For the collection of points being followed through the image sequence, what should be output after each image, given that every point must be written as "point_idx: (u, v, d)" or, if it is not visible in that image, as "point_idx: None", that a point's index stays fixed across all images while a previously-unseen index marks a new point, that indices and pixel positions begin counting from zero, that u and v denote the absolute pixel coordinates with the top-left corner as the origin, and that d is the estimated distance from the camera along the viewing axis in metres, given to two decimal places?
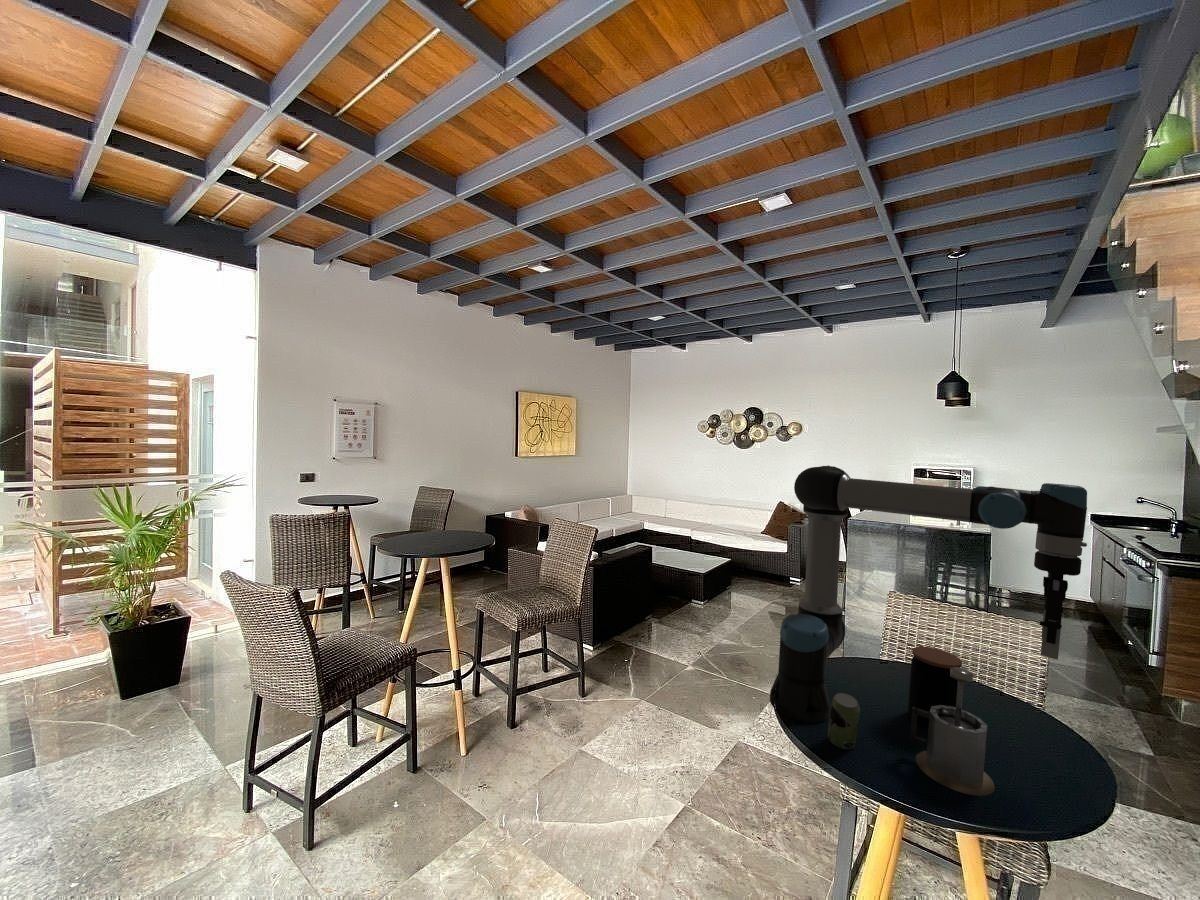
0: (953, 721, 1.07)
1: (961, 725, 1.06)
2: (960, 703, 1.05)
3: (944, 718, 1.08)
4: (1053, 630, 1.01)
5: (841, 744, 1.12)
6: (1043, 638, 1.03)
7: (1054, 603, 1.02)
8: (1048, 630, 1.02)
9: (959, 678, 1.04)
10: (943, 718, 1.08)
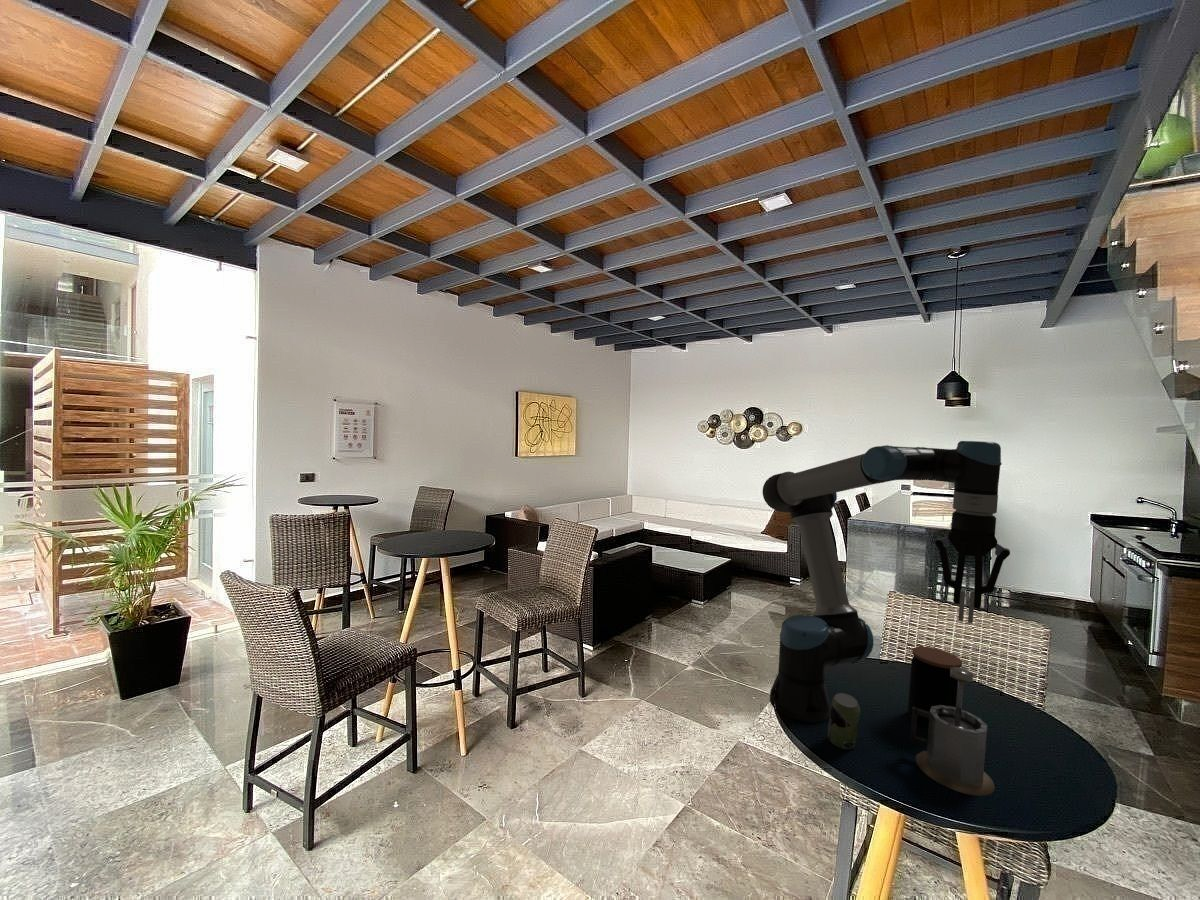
0: (953, 721, 1.07)
1: (961, 725, 1.06)
2: (960, 703, 1.05)
3: (944, 718, 1.08)
4: None
5: (841, 744, 1.12)
6: None
7: None
8: None
9: (959, 678, 1.04)
10: (943, 718, 1.08)
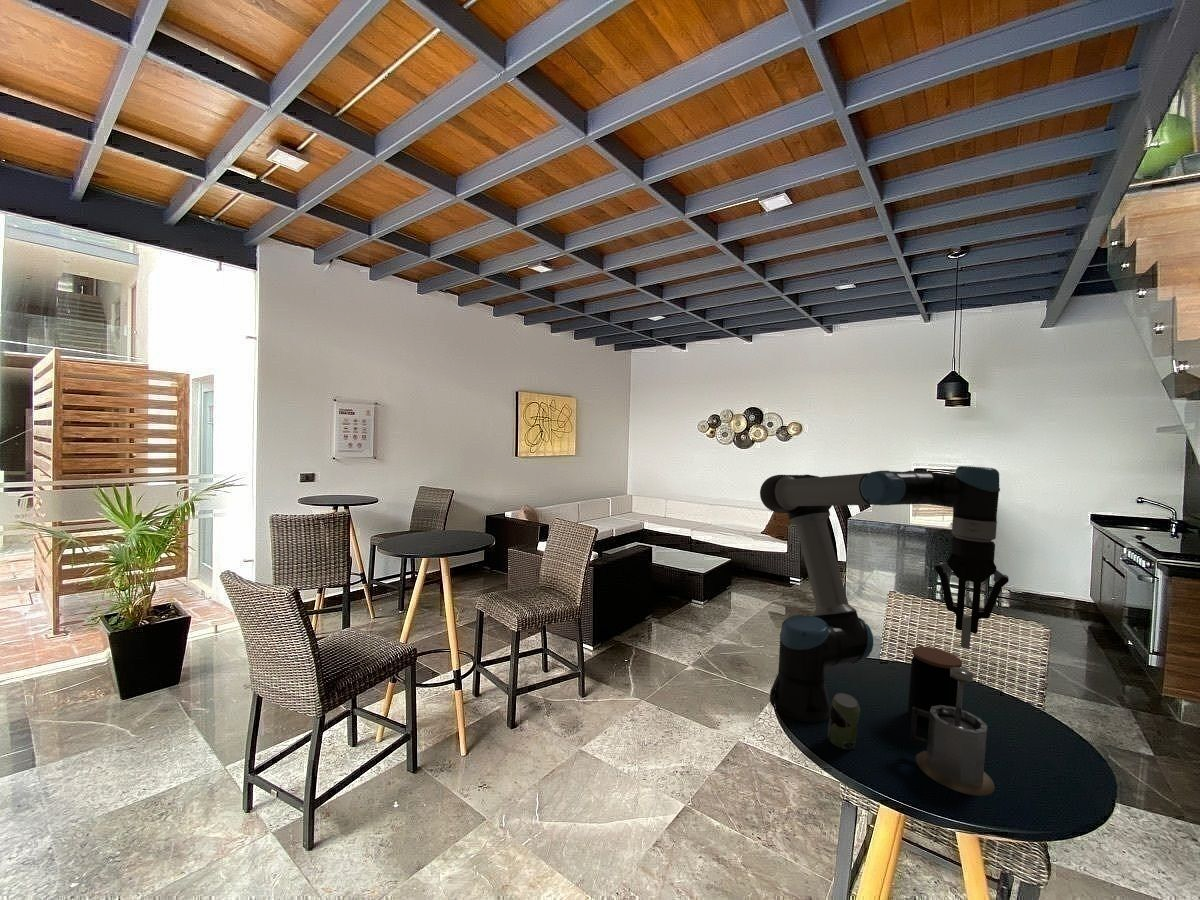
0: (953, 721, 1.07)
1: (961, 725, 1.06)
2: (960, 703, 1.05)
3: (944, 718, 1.08)
4: None
5: (841, 744, 1.12)
6: None
7: None
8: None
9: (959, 678, 1.04)
10: (943, 718, 1.08)
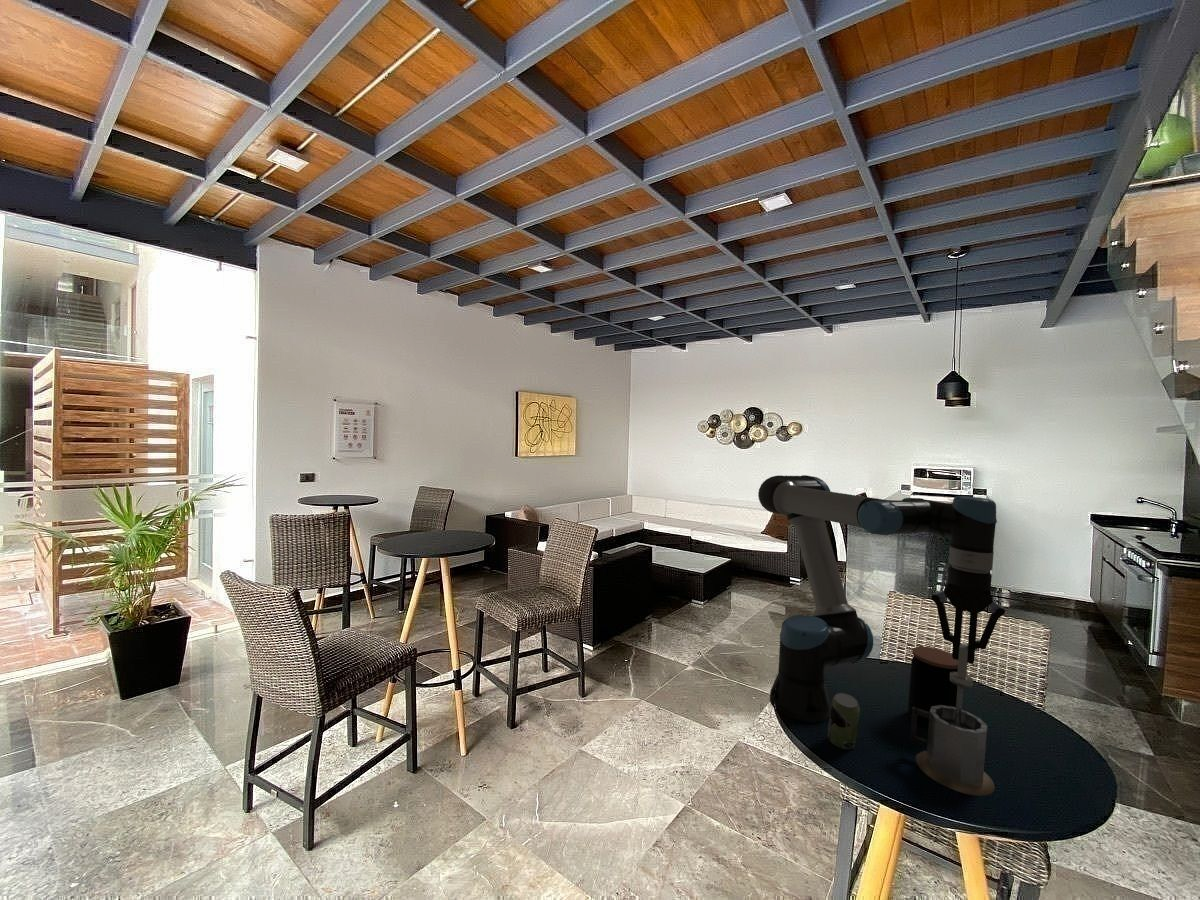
0: None
1: None
2: (960, 708, 1.05)
3: None
4: None
5: (841, 744, 1.12)
6: None
7: None
8: None
9: (959, 683, 1.04)
10: None
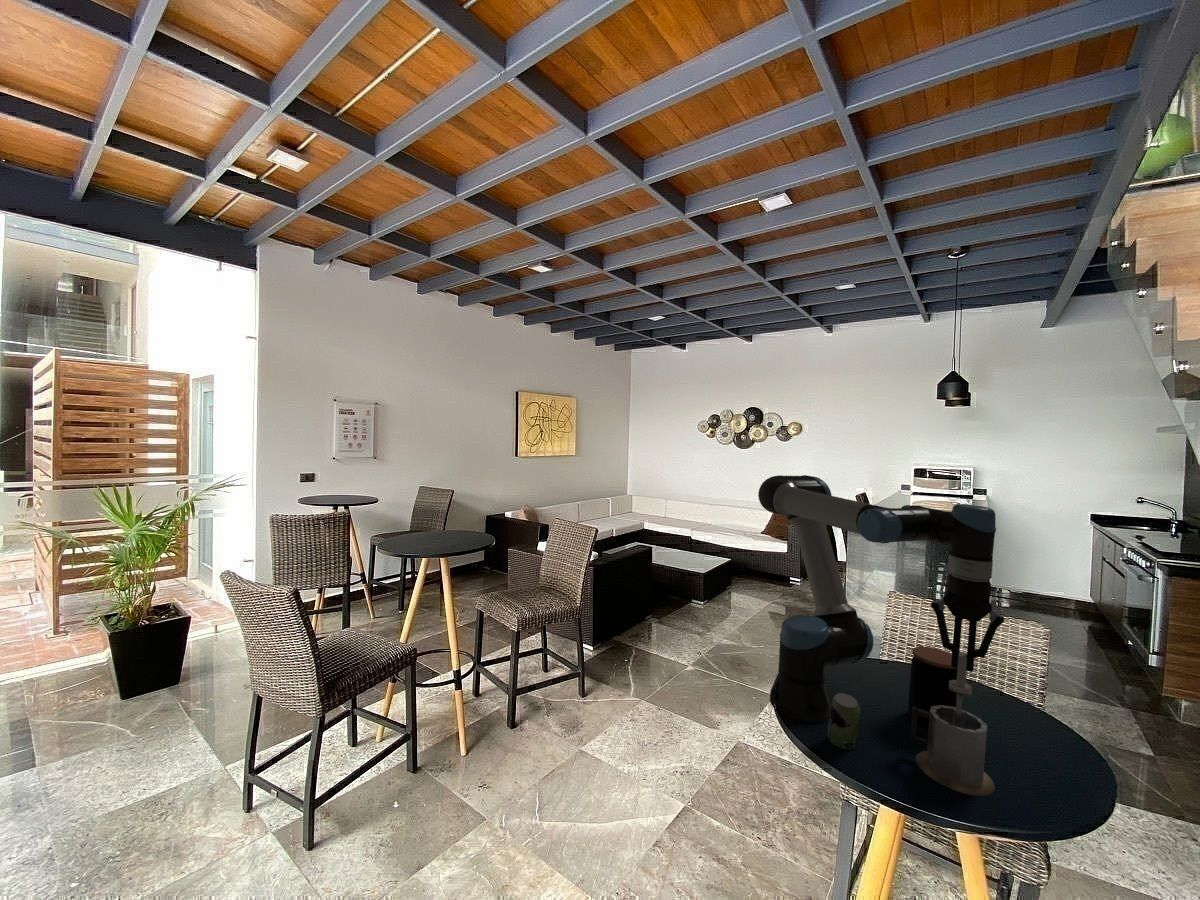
0: None
1: None
2: (959, 716, 1.05)
3: None
4: None
5: (841, 744, 1.12)
6: None
7: None
8: None
9: (958, 691, 1.04)
10: None
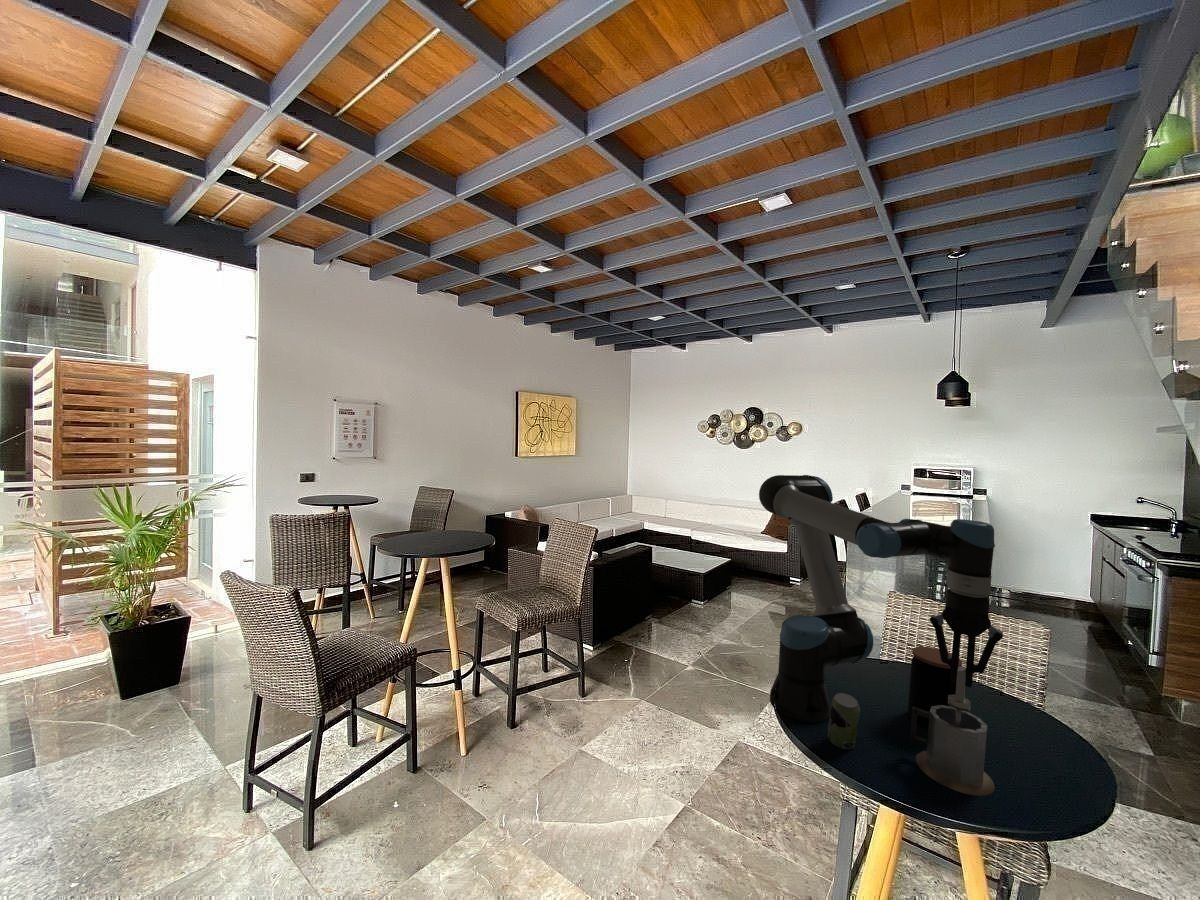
0: None
1: None
2: None
3: None
4: None
5: (841, 744, 1.12)
6: None
7: None
8: None
9: (957, 706, 1.04)
10: None
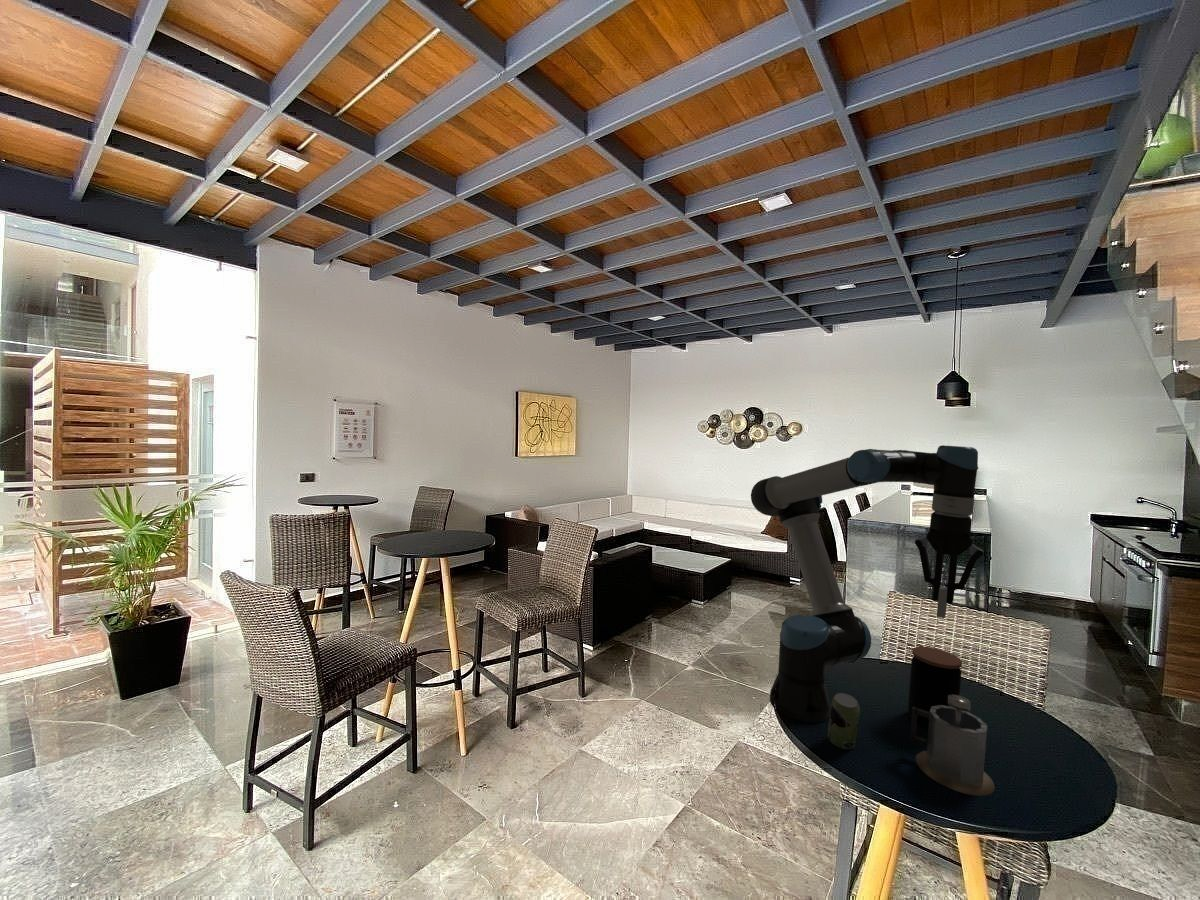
0: None
1: None
2: None
3: None
4: None
5: (841, 744, 1.12)
6: None
7: None
8: None
9: (957, 706, 1.04)
10: None
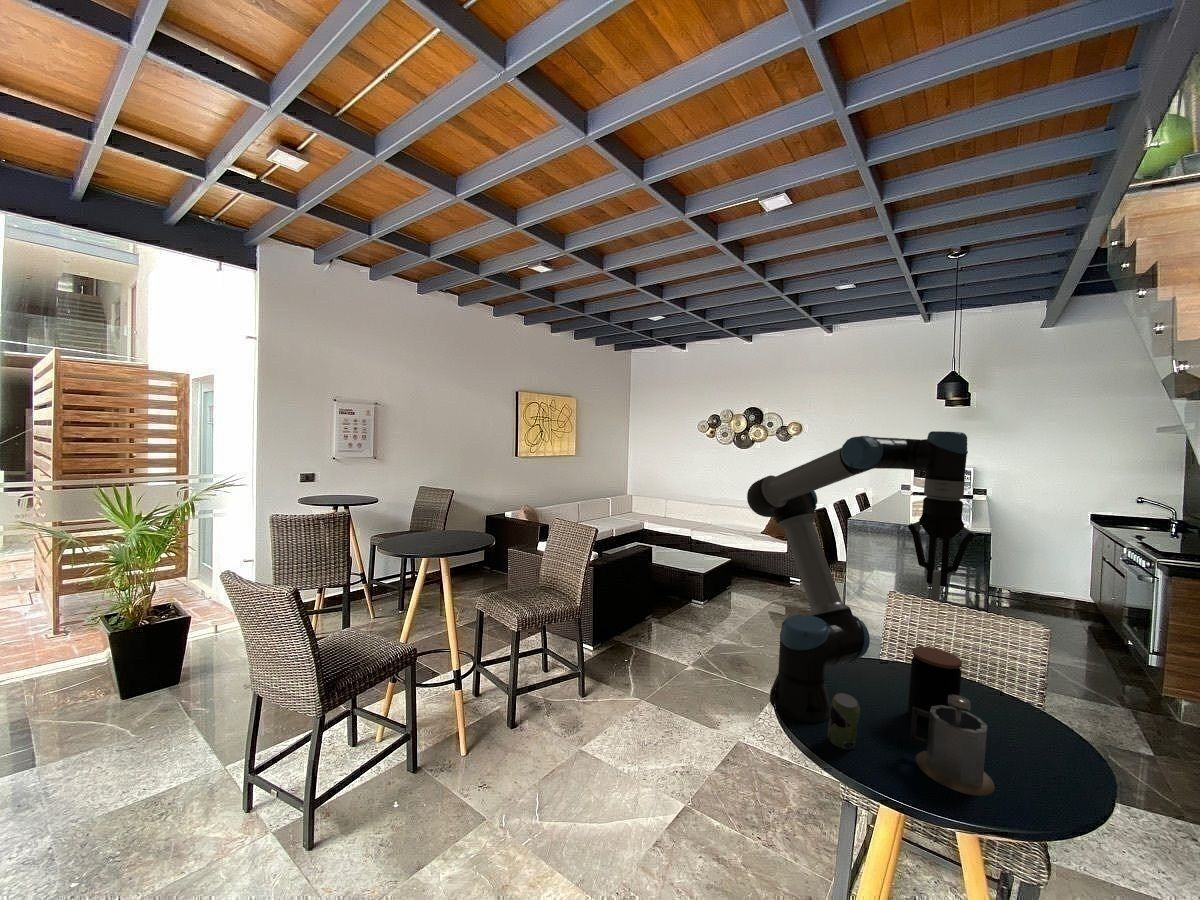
0: None
1: None
2: None
3: None
4: None
5: (841, 744, 1.12)
6: None
7: (915, 544, 1.15)
8: None
9: (957, 706, 1.04)
10: None
